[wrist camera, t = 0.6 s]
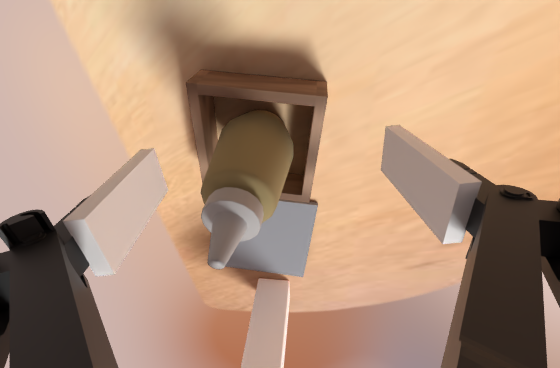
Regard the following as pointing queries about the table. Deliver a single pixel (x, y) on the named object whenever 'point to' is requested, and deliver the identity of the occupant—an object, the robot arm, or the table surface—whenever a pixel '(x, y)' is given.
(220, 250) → the squeeze bottle
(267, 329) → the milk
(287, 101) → the walnut tray
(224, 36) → the table surface
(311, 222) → the slate mat
